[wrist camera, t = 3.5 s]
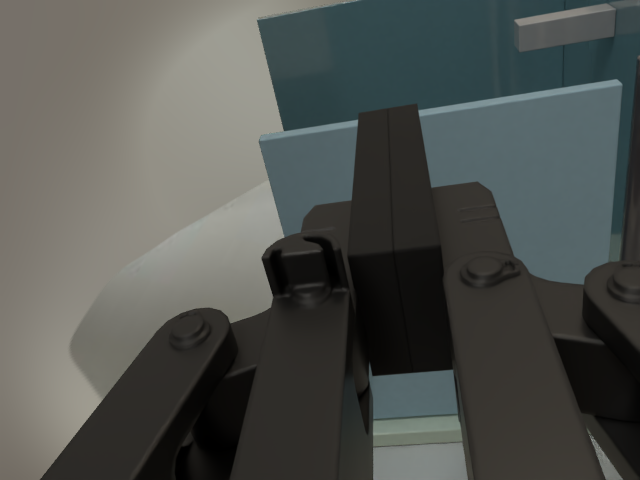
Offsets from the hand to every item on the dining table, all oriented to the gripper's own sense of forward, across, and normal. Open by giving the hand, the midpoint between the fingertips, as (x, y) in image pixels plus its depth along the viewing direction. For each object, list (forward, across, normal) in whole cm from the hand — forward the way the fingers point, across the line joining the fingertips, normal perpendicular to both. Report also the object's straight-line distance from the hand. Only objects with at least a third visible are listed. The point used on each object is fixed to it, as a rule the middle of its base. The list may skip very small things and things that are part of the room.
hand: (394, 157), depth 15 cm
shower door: (+6, +1, -17) cm, 18 cm away
